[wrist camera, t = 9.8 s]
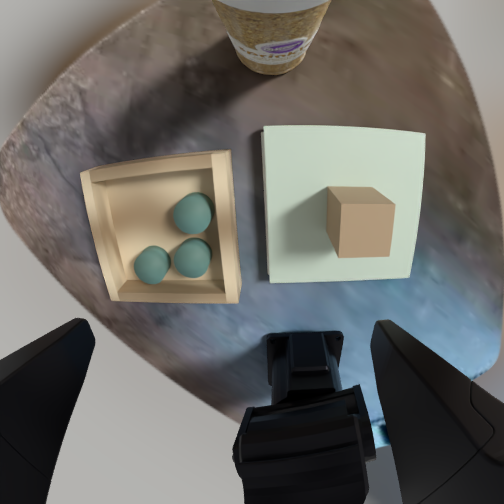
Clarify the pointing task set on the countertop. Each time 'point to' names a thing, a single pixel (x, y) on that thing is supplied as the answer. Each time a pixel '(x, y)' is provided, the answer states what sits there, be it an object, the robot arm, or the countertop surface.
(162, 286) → the box
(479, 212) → the countertop surface
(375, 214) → the lid
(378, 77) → the countertop surface
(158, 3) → the countertop surface
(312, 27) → the sprinkles bottle
